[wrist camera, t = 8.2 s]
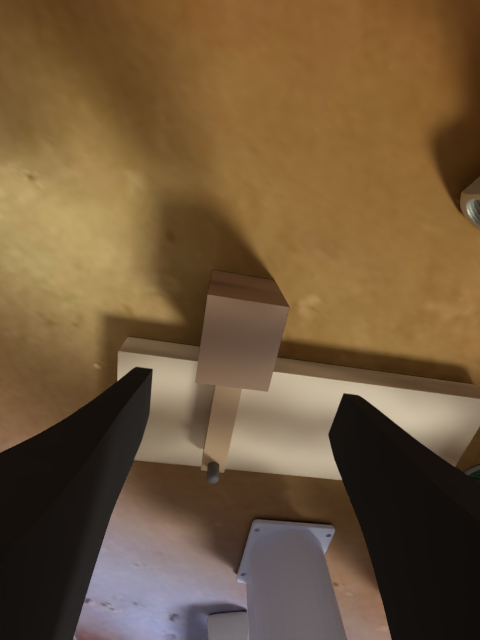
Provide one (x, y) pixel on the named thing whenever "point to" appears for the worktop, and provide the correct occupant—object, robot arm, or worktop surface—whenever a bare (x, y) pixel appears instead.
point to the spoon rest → (228, 626)
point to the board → (291, 411)
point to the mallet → (236, 352)
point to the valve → (471, 203)
